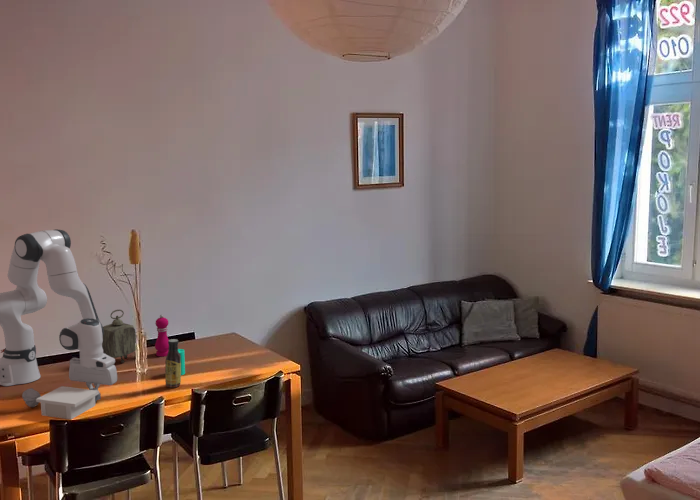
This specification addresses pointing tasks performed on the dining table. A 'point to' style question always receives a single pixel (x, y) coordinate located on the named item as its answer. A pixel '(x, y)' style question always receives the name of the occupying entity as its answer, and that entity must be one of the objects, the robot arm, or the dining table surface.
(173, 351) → the sauce bottle
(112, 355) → the tabletop clock
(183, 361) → the candle
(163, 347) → the pepper mill
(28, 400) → the frog figurine
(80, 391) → the box with flat lid
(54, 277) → the robot arm
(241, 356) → the dining table surface
